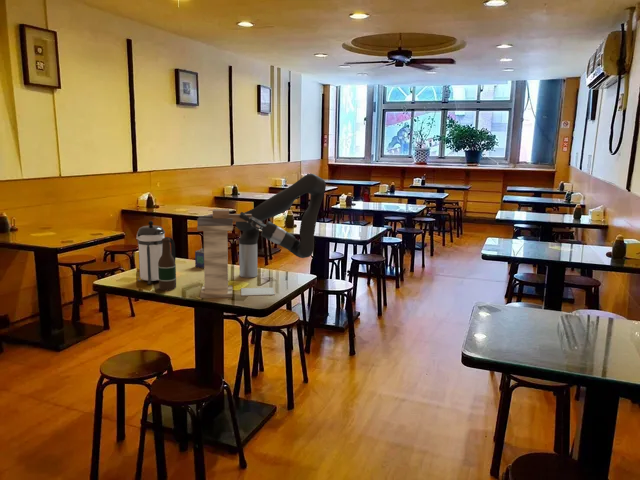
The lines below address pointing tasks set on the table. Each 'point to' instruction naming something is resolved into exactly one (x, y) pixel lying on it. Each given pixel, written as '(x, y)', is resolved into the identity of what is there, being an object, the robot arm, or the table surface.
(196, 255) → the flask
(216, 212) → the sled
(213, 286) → the pedestal
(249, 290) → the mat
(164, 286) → the beer bottle
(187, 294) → the table surface
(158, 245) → the coffee press
